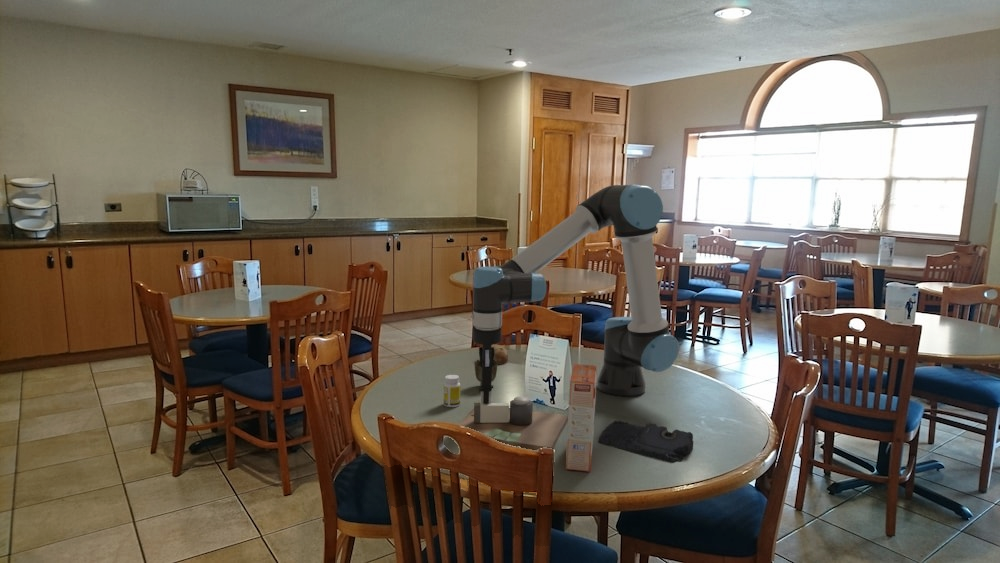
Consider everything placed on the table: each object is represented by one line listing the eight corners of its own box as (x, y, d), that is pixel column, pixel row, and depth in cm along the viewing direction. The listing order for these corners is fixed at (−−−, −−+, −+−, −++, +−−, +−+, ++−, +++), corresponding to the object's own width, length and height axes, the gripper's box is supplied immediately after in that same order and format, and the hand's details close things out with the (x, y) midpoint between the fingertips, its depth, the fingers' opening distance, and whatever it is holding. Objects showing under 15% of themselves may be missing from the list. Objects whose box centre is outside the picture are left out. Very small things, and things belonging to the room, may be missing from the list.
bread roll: (479, 372, 218) (477, 355, 214) (484, 353, 227) (483, 337, 222) (506, 373, 217) (505, 357, 212) (510, 355, 225) (509, 338, 221)
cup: (496, 390, 187) (497, 365, 186) (473, 390, 187) (473, 365, 186) (497, 383, 195) (498, 359, 193) (474, 382, 195) (475, 358, 193)
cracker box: (592, 473, 133) (596, 382, 130) (564, 470, 134) (568, 380, 131) (593, 447, 147) (597, 364, 144) (568, 445, 148) (571, 362, 145)
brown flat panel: (568, 419, 164) (568, 414, 164) (550, 454, 142) (550, 449, 142) (478, 408, 172) (478, 403, 172) (447, 439, 150) (447, 434, 149)
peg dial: (530, 416, 162) (531, 395, 161) (533, 425, 156) (534, 403, 155) (473, 416, 161) (473, 395, 160) (474, 425, 155) (474, 403, 154)
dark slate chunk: (615, 425, 163) (616, 408, 162) (698, 444, 151) (700, 426, 150) (592, 444, 150) (593, 426, 149) (681, 467, 138) (682, 447, 137)
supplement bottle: (462, 403, 175) (463, 375, 174) (456, 408, 171) (456, 380, 170) (447, 401, 177) (447, 373, 176) (440, 406, 173) (441, 378, 171)
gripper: (472, 320, 162) (471, 404, 166) (472, 333, 149) (471, 423, 153) (500, 321, 162) (498, 404, 166) (502, 333, 149) (501, 423, 153)
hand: (485, 413), depth 159 cm, fingers closed
